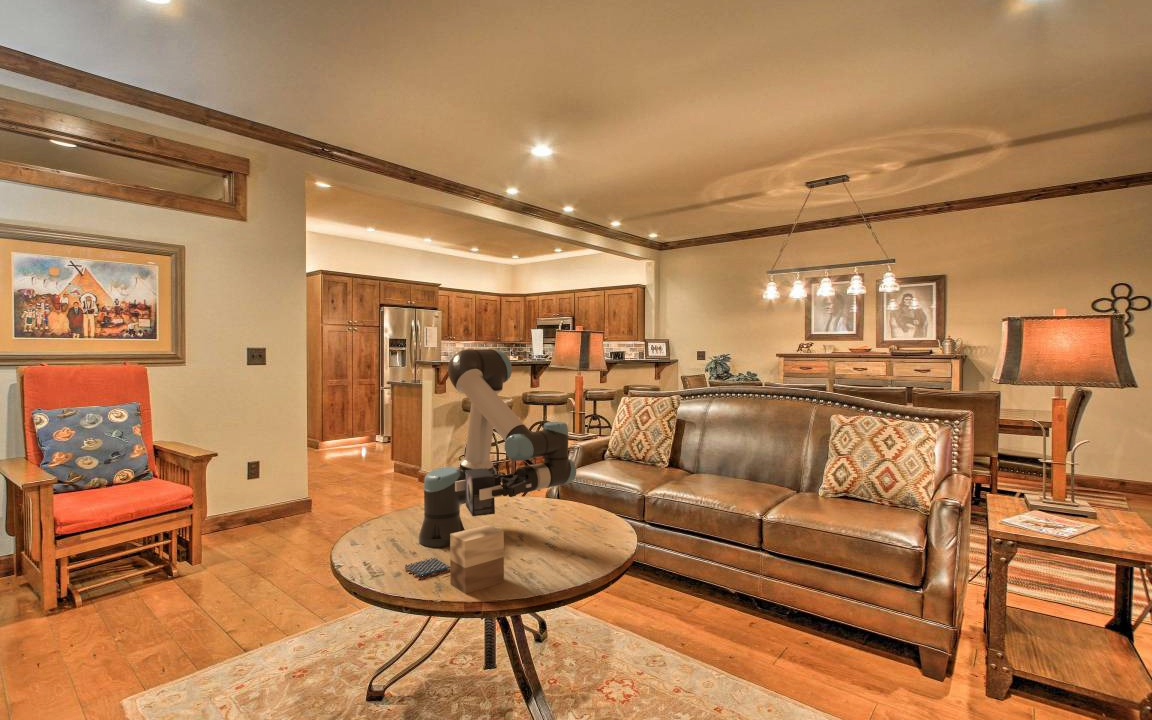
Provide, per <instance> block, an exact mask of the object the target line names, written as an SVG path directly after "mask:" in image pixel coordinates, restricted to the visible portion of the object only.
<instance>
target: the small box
mask: <svg viewBox="0 0 1152 720" xmlns="http://www.w3.org/2000/svg"><path fill="white" fill-rule="evenodd" d="M465 486H466V503H465V507H466V508H467V510H468V512H469V513H470V515H471V516H472V517H480V516H489V515H495V514H496V510H495V508H496V507H495V503H496V502H495V498H490V499H485V500H479V490H480V489H485V488H490V487H494V475H493V474H492V473H491V472H490V471H489V470H488V469H487V468H480V469H471V470H465Z"/></svg>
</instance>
